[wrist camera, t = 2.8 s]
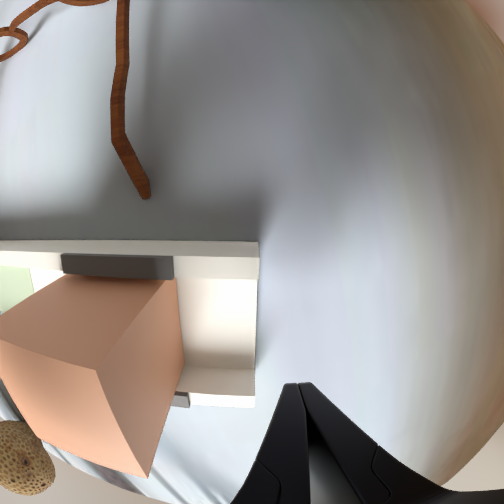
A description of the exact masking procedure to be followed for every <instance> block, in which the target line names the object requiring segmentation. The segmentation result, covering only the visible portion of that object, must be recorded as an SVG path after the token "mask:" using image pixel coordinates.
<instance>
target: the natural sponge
mask: <svg viewBox="0 0 504 504" xmlns="http://www.w3.org/2000/svg"><path fill="white" fill-rule="evenodd" d="M54 479H55V468H54V465H53V462H52V460H51V459H50V456H49V455H48V453H47V452H46V450H45V449H44V447H43V445H42V442H41V439H40V438H38V437H37V436H36V435H35V433H34V432H33V430H32V429H31V428H30V426H29V425H28V424H27V423H24V422H20V421H11V420H7V421H2V422H0V485H2V486H3V487H5V488H6V489H8V490H10V491H12V492H15V493H18V494H23V495H36V494H39V493H41V492H43V491H44V490H46V489H47V488H48V487H49V486H50V485H51V484H52V483H53V482H54Z"/></svg>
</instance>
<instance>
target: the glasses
mask: <svg viewBox="0 0 504 504" xmlns="http://www.w3.org/2000/svg"><path fill="white" fill-rule="evenodd" d="M57 1H60V2H62V3H65V4H69V5H74V6H90V5H96V4H100V3H104V2H107V1H109V0H39V1H37V2H36V3H35V4H33V5H32V6H30V7H29V8H28V9H26V10H25V11H23V12H22V13H21V14H20V15H18V16H17V17H16V18H15V19H14V20H13V21H12V23H11V24H10V27H3V28H0V37H2V36H12V37H15V38H18V39H19V40H20V42H19V43H18V44H17V45H16V46H15V47H14V48H13V49H11V50H10V51H8V52H6V53H4V54H2V55H0V62H2V61H4V60H6V59H8V58H10V57H11V56H13V55H14V54H15V53H17V52H18V51H19V50H21V49H22V48H23V47H24V46H25V45H26V43H27V40H28V34H27V33H26V32H25V31H23V30H21V29H19V28H17V26H18V25H19V24H21V23H22V22H23V21H25V20H26V19H27V18H29V17H30V16H32V15H33V14H34V13H36V12H37V11H39V10H40V9H42V8H43V7H45V6H47V5H49V4H51V3H54V2H57ZM129 5H130V0H117V15H116V67H115V73H114V79H113V85H112V91H111V99H110V109H111V141H112V144H113V146H114V148H115V150H116V152H117V154H118V156H119V157H120V159H121V161H122V163H123V165H124V167H125V169H126V170H127V172H128V174H129V176H130V178H131V180H132V181H133V183H134V185H135V187H136V188H137V190H138V192H139V194H140V196H141V197H142V199H148V198H150V196H151V194H150V186H149V180H148V178H147V176H146V174H145V172H144V170H143V168H142V166H141V164H140V162H139V160H138V158H137V156H136V154H135V152H134V150H133V148H132V146H131V144H130V142H129V140H128V138H127V136H126V134H125V89H126V82H127V76H128V69H129Z"/></svg>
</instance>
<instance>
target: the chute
mask: <svg viewBox="0 0 504 504" xmlns="http://www.w3.org/2000/svg"><path fill="white" fill-rule="evenodd" d="M259 263H260V256H259V247H258V242H241V241H173V240H0V309H1V312H2V314H3V313H5V312H6V311H8V310H9V309H11V308H12V307H14V306H15V305H17V304H18V303H20V302H21V301H23V300H24V299H26V298H27V297H29V296H31V295H32V294H34V293H35V292H37V291H39V290H40V289H42V288H43V287H45V286H47V285H48V284H50V283H52V282H53V281H55V280H57V279H58V278H60V277H62V276H63V275H65V274H75V275H88V276H102V277H117V278H134V279H153V280H173V279H174V277H175V278H176V283H177V295H178V306H179V317H180V326H181V335H182V343H183V351H184V359H185V364H184V367H183V370H182V373H181V376H180V379H179V382H178V385H177V388H176V391H175V394H174V397H173V400H172V403H171V406H175V407H184V408H189V407H190V404H197V405H209V406H224V407H254V406H255V340H256V308H257V280H259Z"/></svg>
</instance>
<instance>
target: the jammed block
mask: <svg viewBox="0 0 504 504" xmlns="http://www.w3.org/2000/svg"><path fill="white" fill-rule="evenodd" d="M184 364H185V359H184V351H183V343H182V335H181V326H180V317H179V306H178V295H177V283H176V278H175V277H174V279H173V280H153V279H134V278H117V277H102V276H88V275H75V274H65V275H63V276H62V277H60V278H58V279H57V280H55V281H53V282H52V283H50V284H48V285H47V286H45V287H43V288H42V289H40V290H39V291H37V292H35V293H34V294H32V295H31V296H29V297H27V298H26V299H24V300H23V301H21V302H20V303H18V304H17V305H15V306H14V307H12V308H11V309H9V310H8V311H6V312H5V313H3V314H2V315H0V377H1V379H2V381H3V383H4V385H5V387H6V389H7V390H8V392H9V394H10V396H11V398H12V399H13V401H14V403H15V404H16V406H17V408H18V409H19V411H20V412H21V414H22V416H23V417H24V419H25V420H26V422H27V423H28V425H29V426H30V428H31V429H32V430H33V432H34V433H35V435H36V436H37V437H38V438H40V439H42V440H44V441H46V442H48V443H50V444H52V445H54V446H56V447H58V448H60V449H62V450H64V451H67V452H69V453H71V454H74V455H76V456H78V457H81V458H83V459H86V460H89V461H91V462H94V463H97V464H99V465H102V466H105V467H108V468H111V469H114V470H118V471H121V472H124V473H128V474H132V475H135V476H139V477H143V478H147V479H148V476H149V473H150V469H151V466H152V463H153V459H154V456H155V453H156V450H157V446H158V443H159V440H160V437H161V434H162V431H163V427H164V424H165V421H166V418H167V415H168V412H169V409H170V406H171V403H172V400H173V397H174V394H175V391H176V388H177V385H178V382H179V379H180V376H181V373H182V370H183V367H184Z"/></svg>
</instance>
